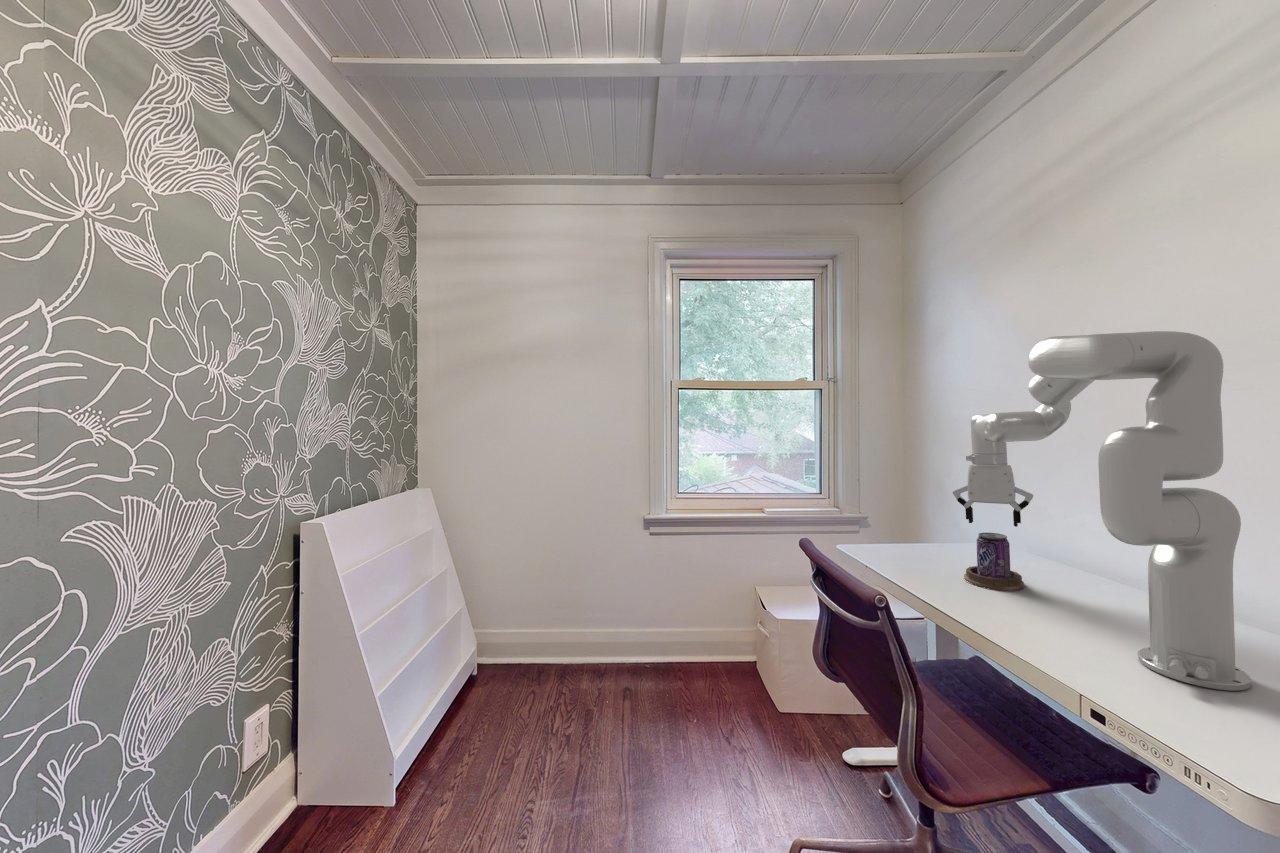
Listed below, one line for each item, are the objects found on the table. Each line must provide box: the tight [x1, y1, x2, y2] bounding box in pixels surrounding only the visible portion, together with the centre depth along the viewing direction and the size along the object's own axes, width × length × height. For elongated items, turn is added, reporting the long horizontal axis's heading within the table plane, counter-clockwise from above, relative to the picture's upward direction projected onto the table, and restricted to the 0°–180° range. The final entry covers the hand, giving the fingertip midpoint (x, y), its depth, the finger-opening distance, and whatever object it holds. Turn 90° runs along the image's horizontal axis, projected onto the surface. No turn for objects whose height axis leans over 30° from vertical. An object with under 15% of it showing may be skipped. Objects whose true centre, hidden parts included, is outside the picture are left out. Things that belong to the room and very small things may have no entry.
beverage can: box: [976, 532, 1011, 579], centre depth 126 cm, size 7×7×12 cm
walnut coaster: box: [963, 565, 1025, 592], centre depth 126 cm, size 13×13×3 cm
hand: (992, 523), depth 126 cm, fingers open, 9 cm apart
